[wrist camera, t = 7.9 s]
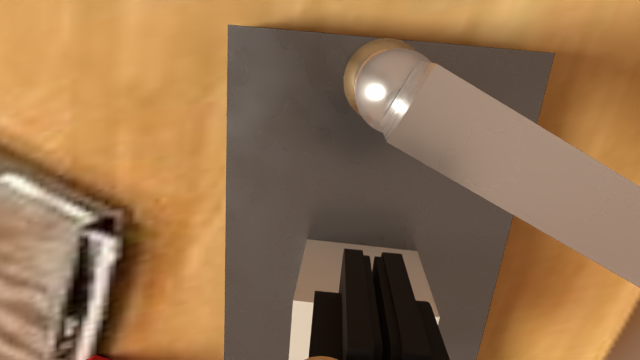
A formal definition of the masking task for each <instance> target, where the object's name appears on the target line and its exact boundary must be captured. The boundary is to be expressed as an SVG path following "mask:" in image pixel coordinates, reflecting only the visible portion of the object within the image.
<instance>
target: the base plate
mask: <svg viewBox="0 0 640 360" xmlns="http://www.w3.org/2000/svg"><path fill="white" fill-rule="evenodd" d="M376 39H381V38H375V37H364V36H352V35H341V34H330V33H318V32H307V31H295V30H284V29H272V28H261V27H250V26H238V25H228V70H227V159H226V247H225V335H224V360H289V349H290V335H291V322H292V308H293V299H294V294H295V290H296V285H297V281H298V276H299V272H300V267H301V263H302V259H303V254H304V250H305V245H306V241H307V239H310V240H319V241H329V242H338V243H347V244H356V245H365V246H375V247H384V248H393V249H402V250H411V251H417V252H418V255H419V258H420V261H421V263H422V266H423V269H424V272H425V275H426V278H427V281H428V284H429V287H430V290H431V293H432V296H433V299H434V302H435V305H436V308H437V311H438V313H439V316H440V319H439V323H438V327H439V330H440V333H441V336H442V339H443V341H444V344H445V347H446V350H447V353H448V356H449V359H450V360H476V359H477V355H478V351H479V347H480V343H481V339H482V335H483V331H484V328H485V324H486V320H487V316H488V312H489V308H490V304H491V300H492V296H493V292H494V289H495V285H496V281H497V277H498V273H499V269H500V265H501V261H502V257H503V254H504V250H505V246H506V242H507V238H508V234H509V230H510V226H511V222H512V218H513V215H512V214H511V213H509V212H507V211H506V210H504V209H502V208H500V207H499V206H497V205H495V204H493V203H492V202H490V201H488V200H486V199H485V198H483V197H481V196H479V195H478V194H476V193H474V192H472V191H471V190H469V189H467V188H466V187H464V186H462V185H460V184H459V183H457V182H455V181H453V180H452V179H450V178H448V177H446V176H445V175H443V174H441V173H439V172H438V171H436V170H434V169H433V168H431V167H429V166H427V165H426V164H424V163H422V162H420V161H419V160H417V159H415V158H413V157H412V156H410V155H408V154H406V153H405V152H403V151H401V150H400V149H398V148H396V147H394V146H393V145H391V144H389V143H387V141H386V139H385V137H384V134H383V133H382V132H379V131H377V130H375V129H374V128H372V127H371V126H370V125H369V124H368V123H367V122H366V121H365V120H364V119H363V117H362V116H361V115H359V114H358V113H357V112H356V111H355V110H354V109H353V108H352V107H351V105H350V104H349V102H348V100H347V98H346V95H345V91H344V73H345V69H346V66H347V64H348V62H349V60H350V58H351V57H352V55H353V54H354V53H355V52H356V51H357V50H358V49H359V48H360V47H362V46H363V45H364V44H366V43H368V42H370V41H373V40H376ZM401 41H403V42H405V43H407V44H409V45H410V46H411V47H413V48H414V49H415V50H416V51H417V52H419V53H420V54H422V55H424V56H425V57H427V58H428V59H429V60H430V61H431V62H432V63H436V64H438V65H440V66H441V67H443V68H445V69H446V70H448V71H450V72H451V73H453V74H455V75H456V76H458V77H460V78H461V79H463V80H465V81H466V82H468V83H470V84H471V85H473V86H475V87H476V88H478V89H479V90H481V91H483V92H484V93H486V94H488V95H489V96H491V97H493V98H494V99H496V100H498V101H499V102H501V103H503V104H504V105H506V106H508V107H509V108H511V109H513V110H514V111H516V112H517V113H519V114H521V115H522V116H524V117H526V118H527V119H529V120H531V121H532V122H534V123H536V124H537V121H538V117H539V113H540V109H541V106H542V102H543V98H544V94H545V90H546V86H547V82H548V78H549V74H550V70H551V67H552V63H553V59H554V55H555V53H547V52H536V51H524V50H513V49H501V48H490V47H478V46H467V45H455V44H444V43H433V42H421V41H410V40H401Z"/></svg>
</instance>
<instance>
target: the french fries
mask: <svg viewBox="0 0 640 360" xmlns="http://www.w3.org/2000/svg"><path fill="white" fill-rule="evenodd" d="M87 360H111V359H108V358H104V357H101V356H98V355H94V356H92V357H90V358H89V359H87Z"/></svg>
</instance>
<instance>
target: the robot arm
mask: <svg viewBox="0 0 640 360" xmlns="http://www.w3.org/2000/svg"><path fill="white" fill-rule="evenodd" d="M305 360H450V359H449V356H448V353H447V350H446V347H445V344H444V341H443V339H442V336H441V333H440V330H439V327H438V324H437V321H436V318H435V316H434V313H433V310H432V307H431V305H430V303H429V302H428V301H417V300H415V297H414V293H413V290H412V286H411V283H410V280H409V276H408V273H407V270H406V266H405V263H404V260H403V256H402V254H398V253H387V252H382V254H381V257H377V256H375V257H374V262H373V269H372V268H371V261H370V256H367V255H363V250H356V249H345V248H344V251H343V258H342V267H341V276H340V284H339V293H334V292H324V291H315V293H314V304H313V315H312V325H311V336H310V347H309V358H307V359H305Z"/></svg>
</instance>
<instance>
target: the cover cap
mask: <svg viewBox="0 0 640 360" xmlns="http://www.w3.org/2000/svg"><path fill="white" fill-rule="evenodd" d="M344 248H345V249H356V250H363V255H367V256H370V261H371V268H372V269H373V262H374V257H375V256H377V257H381V254H382V252H387V253H398V254H402V256H403V260H404V263H405V266H406V270H407V273H408V276H409V280H410V283H411V286H412V290H413V293H414V297H415V300H417V301H428V302H429V303H430V305H431V307H432V310H433V313H434V316H435V318H436V321H437V324H438V323H439V319H440V316H439V313H438V311H437V308H436V305H435V302H434V299H433V296H432V293H431V290H430V287H429V284H428V281H427V278H426V275H425V272H424V269H423V266H422V263H421V261H420V258H419V255H418V252H417V251H411V250H402V249H393V248H384V247H375V246H365V245H356V244H347V243H338V242H329V241H319V240H310V239H307V241H306V245H305V250H304V254H303V259H302V263H301V267H300V272H299V276H298V281H297V285H296V290H295V294H294V299H293V308H292V322H291V335H290V349H289V360H305V359H307V358H309V347H310V336H311V325H312V315H313V304H314V293H315V291H324V292H334V293H339V284H340V276H341V267H342V258H343V251H344Z"/></svg>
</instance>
